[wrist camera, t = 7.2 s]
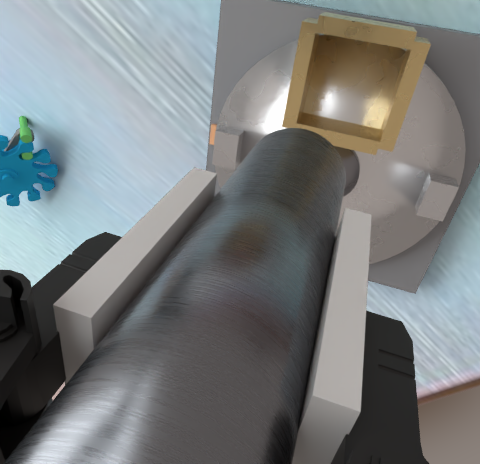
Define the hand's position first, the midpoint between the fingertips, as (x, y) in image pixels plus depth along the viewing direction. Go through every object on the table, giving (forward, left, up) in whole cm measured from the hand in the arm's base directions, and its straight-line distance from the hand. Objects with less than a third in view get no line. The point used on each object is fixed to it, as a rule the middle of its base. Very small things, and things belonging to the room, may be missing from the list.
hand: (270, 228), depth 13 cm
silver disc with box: (+6, +1, -23) cm, 24 cm away
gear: (+15, -31, -25) cm, 43 cm away
